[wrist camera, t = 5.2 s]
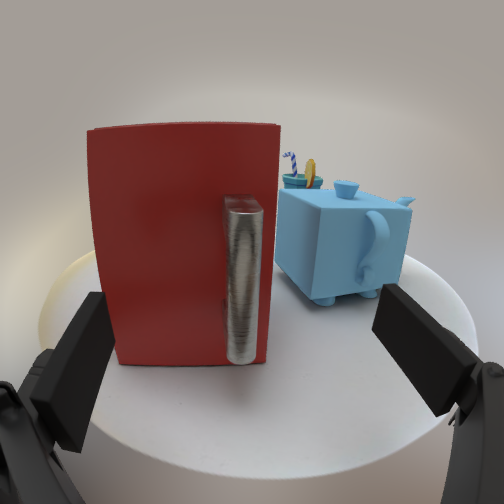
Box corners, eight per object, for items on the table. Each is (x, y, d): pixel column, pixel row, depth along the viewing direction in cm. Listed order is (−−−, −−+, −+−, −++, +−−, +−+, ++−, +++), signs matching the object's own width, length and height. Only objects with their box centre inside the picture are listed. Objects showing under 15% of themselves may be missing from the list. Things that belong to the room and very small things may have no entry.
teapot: (319, 326, 29) (338, 193, 24) (267, 264, 43) (272, 171, 38) (436, 298, 34) (459, 200, 29) (370, 255, 48) (381, 177, 43)
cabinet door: (277, 407, 19) (305, 121, 13) (106, 408, 17) (49, 130, 11) (263, 354, 25) (277, 125, 18) (121, 356, 23) (92, 130, 17)
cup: (263, 222, 63) (266, 149, 58) (296, 220, 66) (301, 151, 61) (295, 244, 51) (302, 154, 46) (333, 240, 54) (341, 157, 49)
